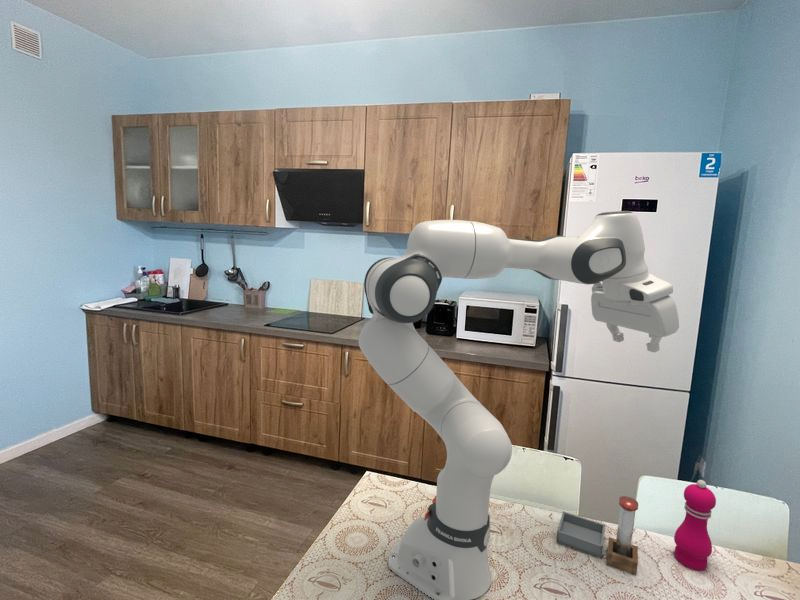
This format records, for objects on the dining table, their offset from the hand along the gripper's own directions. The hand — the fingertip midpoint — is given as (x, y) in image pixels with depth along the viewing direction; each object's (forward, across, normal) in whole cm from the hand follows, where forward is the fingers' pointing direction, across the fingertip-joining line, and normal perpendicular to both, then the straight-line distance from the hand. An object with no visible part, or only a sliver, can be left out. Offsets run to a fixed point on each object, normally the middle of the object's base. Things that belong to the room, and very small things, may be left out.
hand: (635, 345), depth 93 cm
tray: (+46, -6, -19) cm, 50 cm away
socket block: (+48, +2, -15) cm, 50 cm away
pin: (+48, +2, -15) cm, 50 cm away
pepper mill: (+53, +6, +1) cm, 53 cm away
